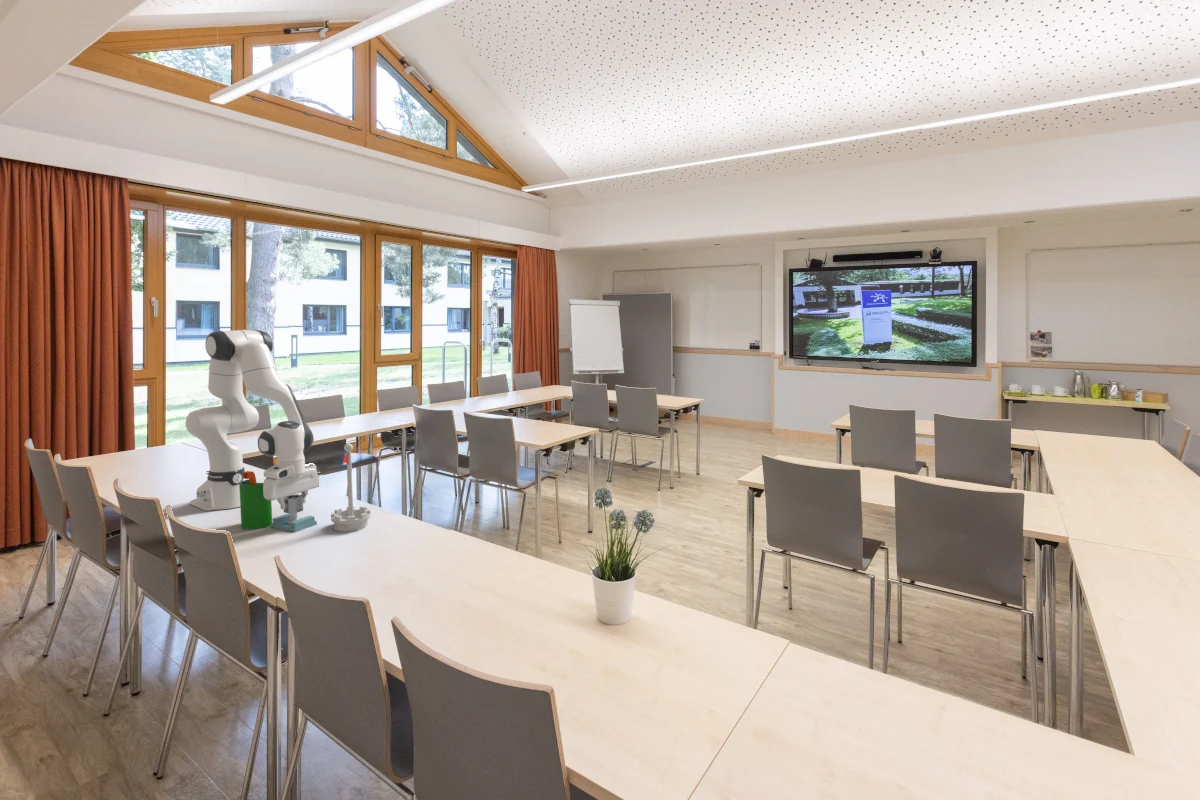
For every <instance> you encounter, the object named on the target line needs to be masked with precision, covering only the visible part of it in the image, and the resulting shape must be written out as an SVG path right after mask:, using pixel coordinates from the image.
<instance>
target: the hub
mask: <svg viewBox="0 0 1200 800" xmlns="http://www.w3.org/2000/svg"><path fill="white" fill-rule="evenodd" d="M283 501H284V503H285V504H288V506H287V507H288V508H287V509H284V510H283V513H284V514H288V513H297V514H298V513H300V512H303V511H304V503H303V495H302V494H300V493H296V494H293V495H290V496H286V497H285V500H283Z"/></svg>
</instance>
